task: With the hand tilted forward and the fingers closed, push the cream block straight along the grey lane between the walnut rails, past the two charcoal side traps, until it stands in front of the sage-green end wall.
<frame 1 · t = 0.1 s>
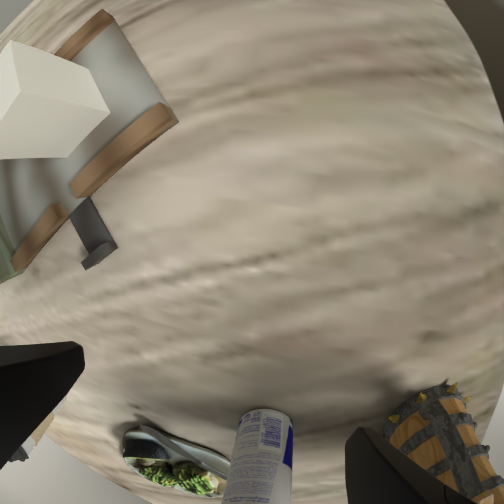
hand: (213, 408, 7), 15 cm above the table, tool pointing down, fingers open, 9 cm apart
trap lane: (46, 150, 21), on the table
coffee cup: (50, 383, 30), on the table
beverage can: (266, 421, 26), on the table
block: (75, 112, 19), point 1 cm above the table, touching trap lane
mug: (421, 406, 24), on the table
salad plate: (176, 459, 31), on the table
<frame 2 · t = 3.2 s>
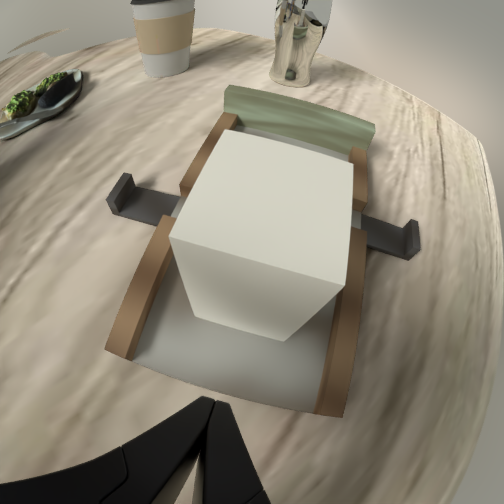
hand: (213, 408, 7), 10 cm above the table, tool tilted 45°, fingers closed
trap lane: (268, 228, 22), on the table
coffee cup: (167, 69, 35), on the table
block: (251, 288, 19), point 1 cm above the table, touching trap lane
salad plate: (42, 107, 31), on the table
beer glass: (289, 79, 36), on the table
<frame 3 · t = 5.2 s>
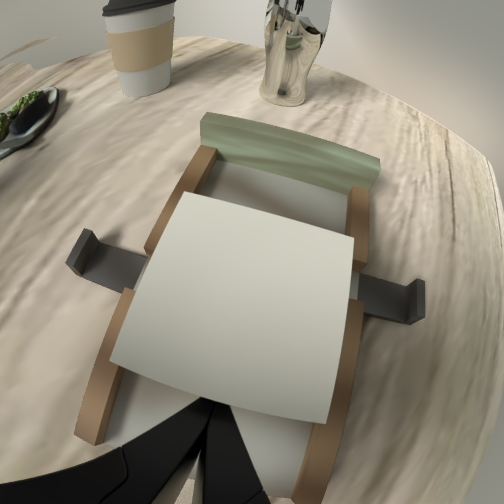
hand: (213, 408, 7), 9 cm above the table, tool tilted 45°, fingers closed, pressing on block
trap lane: (248, 297, 19), on the table
coffee cup: (146, 86, 32), on the table
block: (232, 351, 17), point 1 cm above the table, touching gripper
salad plate: (16, 130, 27), on the table
beer glass: (281, 96, 33), on the table
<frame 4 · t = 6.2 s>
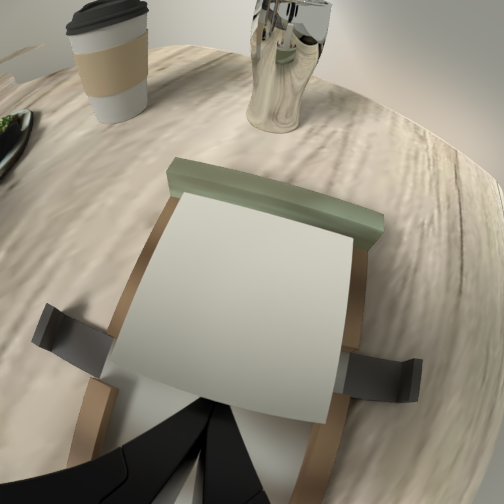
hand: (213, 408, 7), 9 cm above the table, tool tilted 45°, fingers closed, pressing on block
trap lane: (222, 386, 16), on the table
coffee cup: (121, 109, 29), on the table
block: (232, 351, 17), point 1 cm above the table, touching gripper, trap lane
beer glass: (272, 119, 30), on the table
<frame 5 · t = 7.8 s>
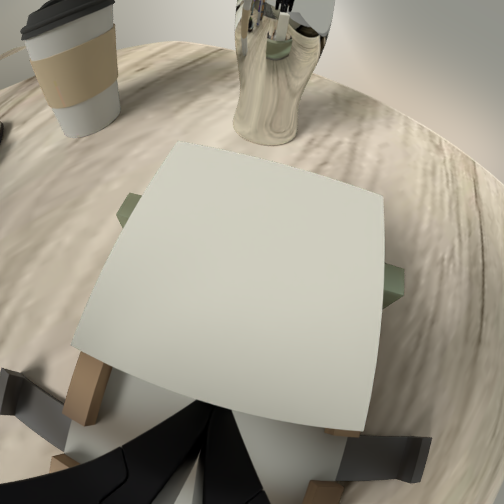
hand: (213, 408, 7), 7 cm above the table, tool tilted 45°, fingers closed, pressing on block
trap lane: (196, 471, 11), on the table
coffee cup: (91, 119, 24), on the table
block: (234, 343, 15), point 1 cm above the table, touching gripper, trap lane
beer glass: (264, 127, 25), on the table
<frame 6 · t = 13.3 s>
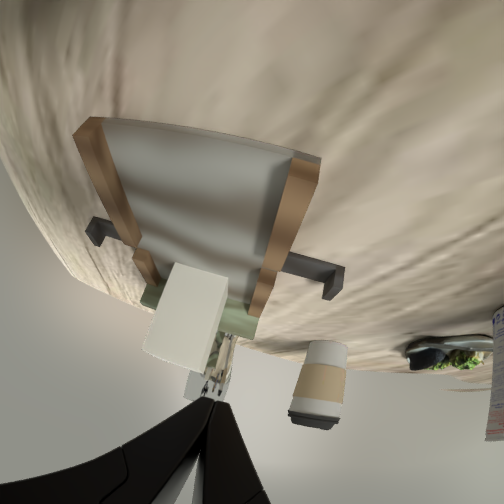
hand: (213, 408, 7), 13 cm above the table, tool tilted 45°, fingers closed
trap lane: (199, 241, 26), on the table
coffee cup: (329, 344, 46), on the table
block: (202, 280, 32), point 1 cm above the table, touching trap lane
salad plate: (449, 345, 36), on the table
beer glass: (226, 322, 49), on the table
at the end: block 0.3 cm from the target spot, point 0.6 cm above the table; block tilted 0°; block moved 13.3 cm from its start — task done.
